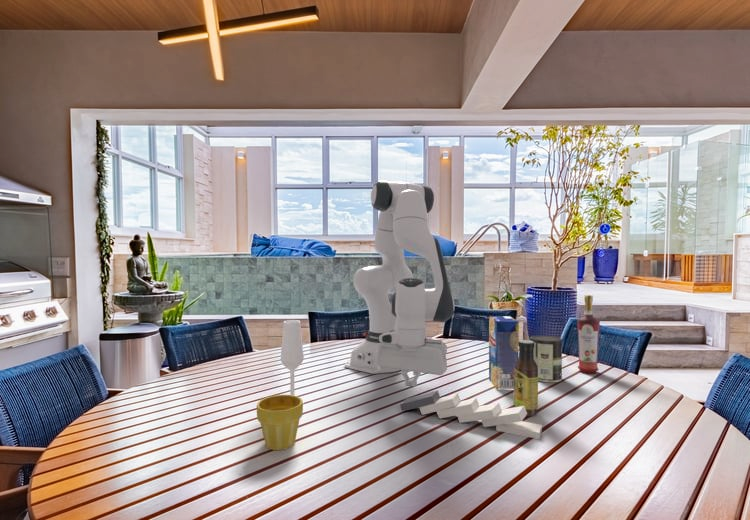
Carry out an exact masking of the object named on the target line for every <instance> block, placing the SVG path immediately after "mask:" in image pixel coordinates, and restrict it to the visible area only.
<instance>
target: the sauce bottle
mask: <svg viewBox="0 0 750 520" xmlns="http://www.w3.org/2000/svg"><path fill="white" fill-rule="evenodd" d="M518 345H519V352H518V360H517V362H516V363H515V367H514V390H513V405H514V406H513V408H514V407H520V406H525V409H526V412H527V415H526V416H525V417H535V416H536V415H537V413H538V405H539V404H538V403H539V402H538V401H539V381H538V366H537V364H536V362H535V361H534V359H533V358H534V356H533V349H534V342H533V341H531V339H530V340H529V339H520V340H519V343H518Z"/></svg>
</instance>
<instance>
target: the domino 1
mask: <svg viewBox="0 0 750 520" xmlns="http://www.w3.org/2000/svg"><path fill="white" fill-rule="evenodd" d="M439 398H441V397H440V393H439V391H438V390H435V391H430V392H426V393H421V394H419V395H415V396H412V397H407V398H405V399H404V400H403V401H402V402H401V403H400V404H399V406H400V409H401V412H407V411H409V410H414V409H418V408H420V407H422V406H426V405H430V404H434V403H436V401H437V400H438V399H439Z"/></svg>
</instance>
